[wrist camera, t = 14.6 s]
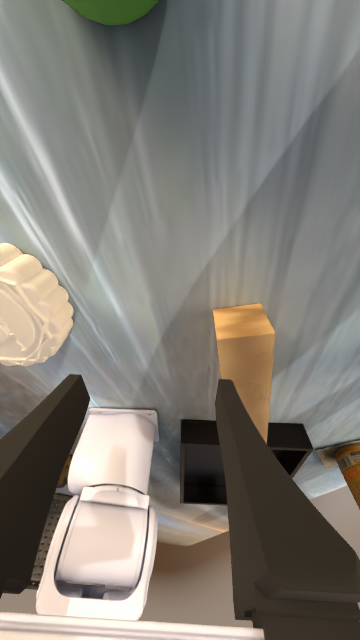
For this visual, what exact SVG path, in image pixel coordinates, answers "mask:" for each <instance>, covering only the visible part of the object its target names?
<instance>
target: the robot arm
mask: <svg viewBox="0 0 360 640" xmlns="http://www.w3.org/2000/svg"><path fill="white" fill-rule="evenodd" d="M89 401H90V397H89V394H88V392H87V389H86V386H85V384H84V381H83V378H82V376H81V375H74V374H70V375H69V376H67V377H66V378H65V379H64V380H63V381H62V382H61V383H60V384H59V385H58V386H57V387H56V388H55V389H54V390H53V391H52V392H51V393H50V394H49V395H48V396H47V397H46V398H45V399H44V400H43V401H42V402H41V403H40V404H39V405H38V406H37V407H36V408H35V409H34V410H33V411H32V412H31V413H30V414H29V415H28V416H26V417H25V418H24V419H23V420H22V421H21V422H20V423H19V424H18V425H16V426H15V427H14V428H13V429H12V430H11V431H10V432H8V433H7V434H6V435H5V436H4V437H2V438H1V439H0V598H1V595H2V593H11V594H20V593H21V592H22V591H23V590H24V589H26V587H27V586H28V585H29V584H30V581H31V576H32V572H33V568H34V564H35V560H36V556H37V553H38V549H39V545H40V541H41V538H42V534H43V530H44V527H45V523H46V520H47V516H48V513H49V510H50V507H51V503H52V500H53V497H54V494H55V491H56V488H57V485H58V482H59V479H60V476H61V473H62V470H63V467H64V465H65V462H66V460H67V458H68V455H69V453H70V451H71V449H72V446H73V444H74V442H75V439H76V437H77V435H78V432H79V430H80V428H81V425H82V423H83V420H84V418H85V415H86V412H87V408H88V405H89ZM215 406H216V422H217V429H218V435H219V441H220V447H221V454H222V460H223V466H224V472H225V480H226V493H227V505H228V519H229V533H230V547H231V564H232V582H233V602H234V612H235V619H236V620H252V621H253V628H241V627H226V626H211V625H196V624H180V623H164V622H149V621H137V620H138V619H139V618H140V616H141V615H142V612H143V608H144V606H145V605H146V599H147V592H148V585H149V579H150V576H151V573H152V568H153V563H154V557H155V551H156V542H157V528H158V519H157V513H156V511H155V510H154V507H153V506H152V505H149V497H150V496H148V495H147V490H148V482H149V475H150V467H151V459H152V452H153V444H154V442H158V441H159V439H160V437H159V427H158V417H157V412H156V411H155V410H133V409H106V408H90V409H89V414H90V415H89V417H88V420H87V422H86V425H85V427H84V430H83V432H82V435H81V437H80V440H79V443H78V445H77V448H76V450H75V453H74V455H73V458H72V461H71V464H70V468H69V474H68V489H69V491H70V493H71V494H74V495H75V496H74V497H73V498H72V499H70V500H69V501H68V502H67V504H66V505H65V507H64V510H63V512H62V514H61V517H60V519H59V522H58V524H57V527H56V530H55V533H54V535H53V538H52V541H51V545H50V548H49V551H48V554H47V558H46V562H45V567H44V573H43V576H42V579H41V582H40V585H39V588H38V592H37V595H36V598H37V603H36V611H37V614H27V613H12V612H0V640H360V621H359V620H360V609H359V607H358V604H357V603H358V602H360V560H359V558H358V556H357V554H356V552H355V551H354V550H353V548H352V547H351V546H350V545H349V544H348V543H347V542H346V541H345V540H344V539H343V538H342V537H341V536H340V534H339V533H338V532H337V531H336V530H335V529H334V528H333V527H332V526H331V525H330V524H329V522H327V520H326V519H325V518H324V517H323V516H322V514H321V513H320V512H319V511H318V510H317V509H316V508H315V507H314V505H313V504H312V503H311V502H310V501H309V499H308V498H307V497H306V496H305V494H304V493H303V492H302V491H301V489H300V488H299V487H298V486H297V485H296V483H295V482H294V481H293V480H292V478H291V477H290V476H289V474H288V473H287V472H286V470H285V469H284V468H283V466H282V465H281V464H280V462H279V461H278V460H277V458H276V457H275V455H274V454H273V453H272V451H271V450H270V448H269V447H268V445H267V444H266V442H265V441H264V439H263V437H262V436H261V434H260V433H259V431H258V429H257V428H256V426H255V424H254V423H253V421H252V419H251V417H250V416H249V414H248V412H247V410H246V408H245V406H244V404H243V403H242V401H241V399H240V396H239V394H238V392H237V390H236V388H235V385H234V383H233V381H232V380H231V379H219V383H218V389H217V395H216V402H215ZM79 495H81V496H79ZM66 581H70V582H81V583H92V584H103V585H115V586H124V587H121V588H106V587H95V586H84V585H73V584H70V583H68V582H66Z"/></svg>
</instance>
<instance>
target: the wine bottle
mask: <svg viewBox="0 0 360 640" xmlns="http://www.w3.org/2000/svg"><path fill="white" fill-rule="evenodd" d="M62 1H64V2H65V3H66V4H68V5H69V6H70V7H72V8H73V9H74V10H76V11H77V12H78V13H79V14H81V15H82V16H83V17H85V18H87V19H90V20H93V21H96V22H99V23H101V24H104V25H125V24H129V23H131V22H133V21H135V20H137V19H139V18H141V17H143V16H145V15H146V14H147V13H148V12H149V11H150V10H151V9H152V8H153V7H154V6H155V5H156V3H157V2H158V1H159V0H62Z"/></svg>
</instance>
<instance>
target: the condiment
mask: <svg viewBox="0 0 360 640" xmlns="http://www.w3.org/2000/svg"><path fill="white" fill-rule="evenodd" d="M316 452H317V454H318V456H319V458H320V460H321V462H322V463H323V465H324V467H330V466H334V465H335V466H336V465H338V466H339V468H340V470H341V473H342V474H343V476H344V479H345V481H346V483H347V485H348V486H349V488H350V491H351V493H352V494H353V496H354V499H355V501H356V503H357V505H358V507H359V509H360V440H359V441H352V442H348V443H345V444H341V445H339V446H331V447H326V448H324V449H319V450H316Z"/></svg>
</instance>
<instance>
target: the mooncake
mask: <svg viewBox="0 0 360 640" xmlns="http://www.w3.org/2000/svg"><path fill="white" fill-rule="evenodd" d="M68 298H69V296H68V293H67V291H66V290H65V289H64V288H63V287H61V286H59V285H58V279H57V277H56V276H55V275H54V274H53V273H52V272H51V271H49V270H47V269H43V267H42V265H41V263H40V262H39V260H38V259H36V258H35V257H33V256H31V255H27V254H22V252H21V251H20V250H19V249H18V248H17V247H15V246H14V245H11V244H8V243H3V244H0V363H1V364H3V365H6V366H15V365H20V366H25V367H26V366H31V365H33V364H34V363H43V362H45V361H46V360H47V359H48V357H50V356H53V355H54V354H56V352H57V351H58V349H59V348H60V346H61V345H62V344H63V342H64V341H65V339H66V338H67V336H68V332H69V331H70V330H71V328H72V327H73V320H72V318H71V316H72V315H73V312H74V310H73V307H72V305H71V304H70V303H69V302H67V301H68Z"/></svg>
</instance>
